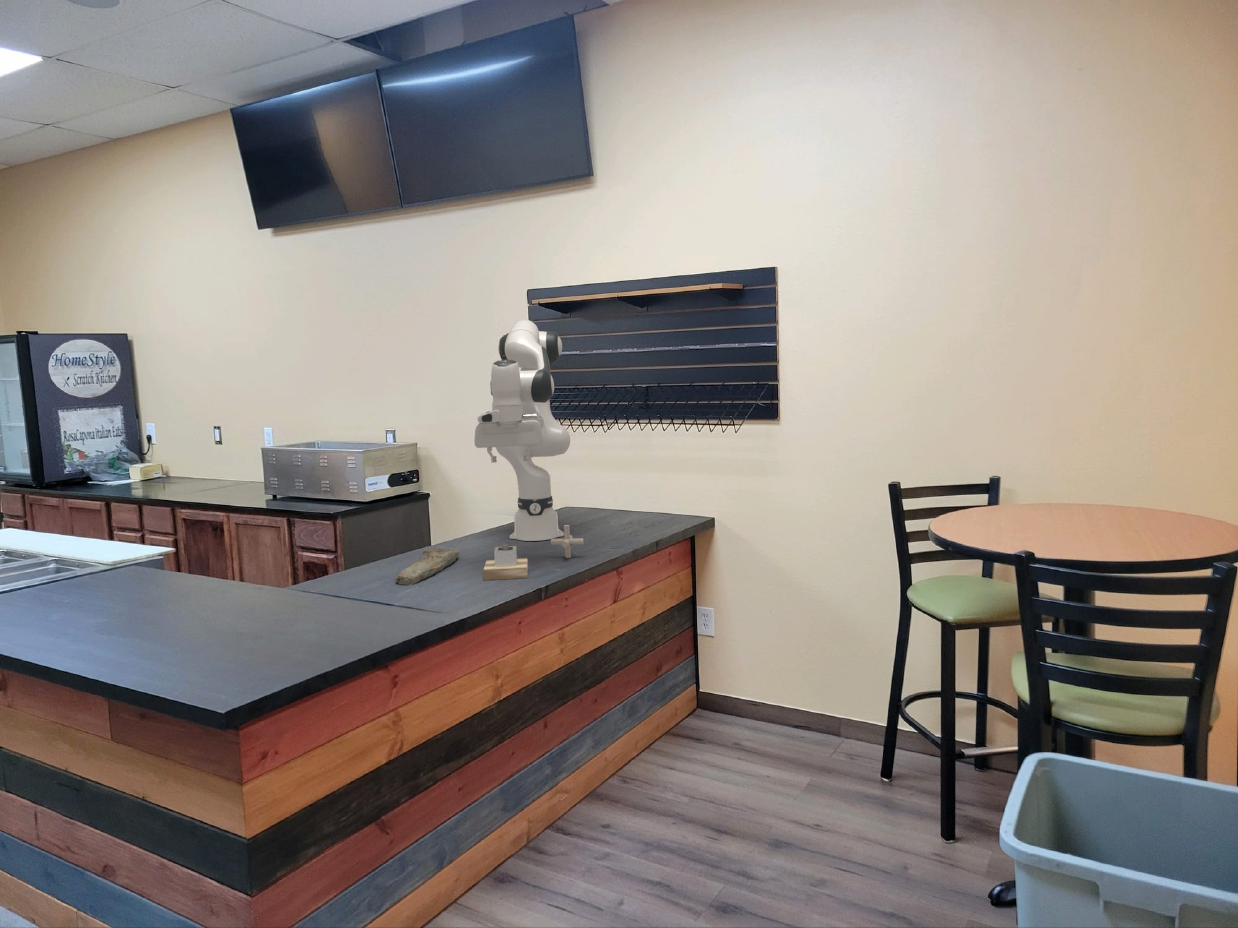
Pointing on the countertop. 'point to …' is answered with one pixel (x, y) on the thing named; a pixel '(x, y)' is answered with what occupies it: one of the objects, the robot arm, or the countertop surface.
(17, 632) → the countertop surface
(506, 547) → the shaft stand
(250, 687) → the countertop surface
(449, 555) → the long grey stone
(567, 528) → the pipe connector
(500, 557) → the silver square ring
